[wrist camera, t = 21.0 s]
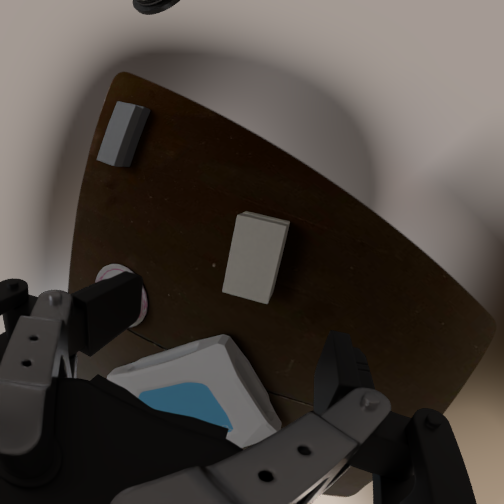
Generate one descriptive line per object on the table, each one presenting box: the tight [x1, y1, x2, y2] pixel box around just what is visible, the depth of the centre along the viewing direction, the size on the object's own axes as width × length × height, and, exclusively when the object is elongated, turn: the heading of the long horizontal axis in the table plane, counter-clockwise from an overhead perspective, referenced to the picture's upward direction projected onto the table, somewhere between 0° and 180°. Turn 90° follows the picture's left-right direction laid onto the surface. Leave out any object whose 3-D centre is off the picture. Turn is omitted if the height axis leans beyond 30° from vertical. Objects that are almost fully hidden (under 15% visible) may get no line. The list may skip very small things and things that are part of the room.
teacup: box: [95, 264, 148, 327], centre depth 45 cm, size 12×12×6 cm
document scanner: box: [107, 334, 282, 448], centre depth 46 cm, size 21×28×6 cm
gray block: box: [97, 102, 150, 167], centre depth 40 cm, size 10×4×4 cm, turn 158°
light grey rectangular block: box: [222, 213, 288, 304], centre depth 36 cm, size 10×6×3 cm, turn 168°
